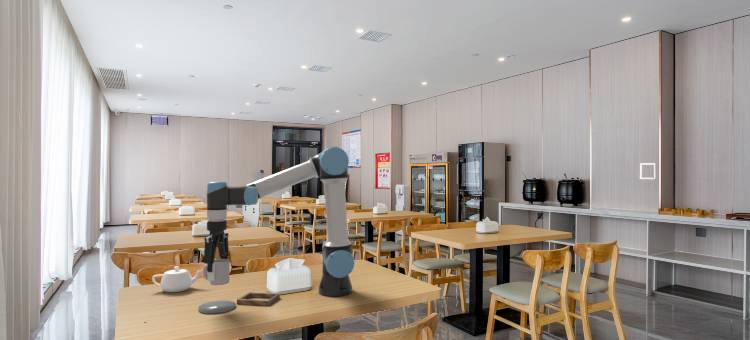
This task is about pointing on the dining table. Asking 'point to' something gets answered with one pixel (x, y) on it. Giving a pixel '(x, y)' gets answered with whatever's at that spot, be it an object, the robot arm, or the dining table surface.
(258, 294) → the brown wooden tray
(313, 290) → the dining table surface
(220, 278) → the cup
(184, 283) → the teapot
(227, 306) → the coaster
